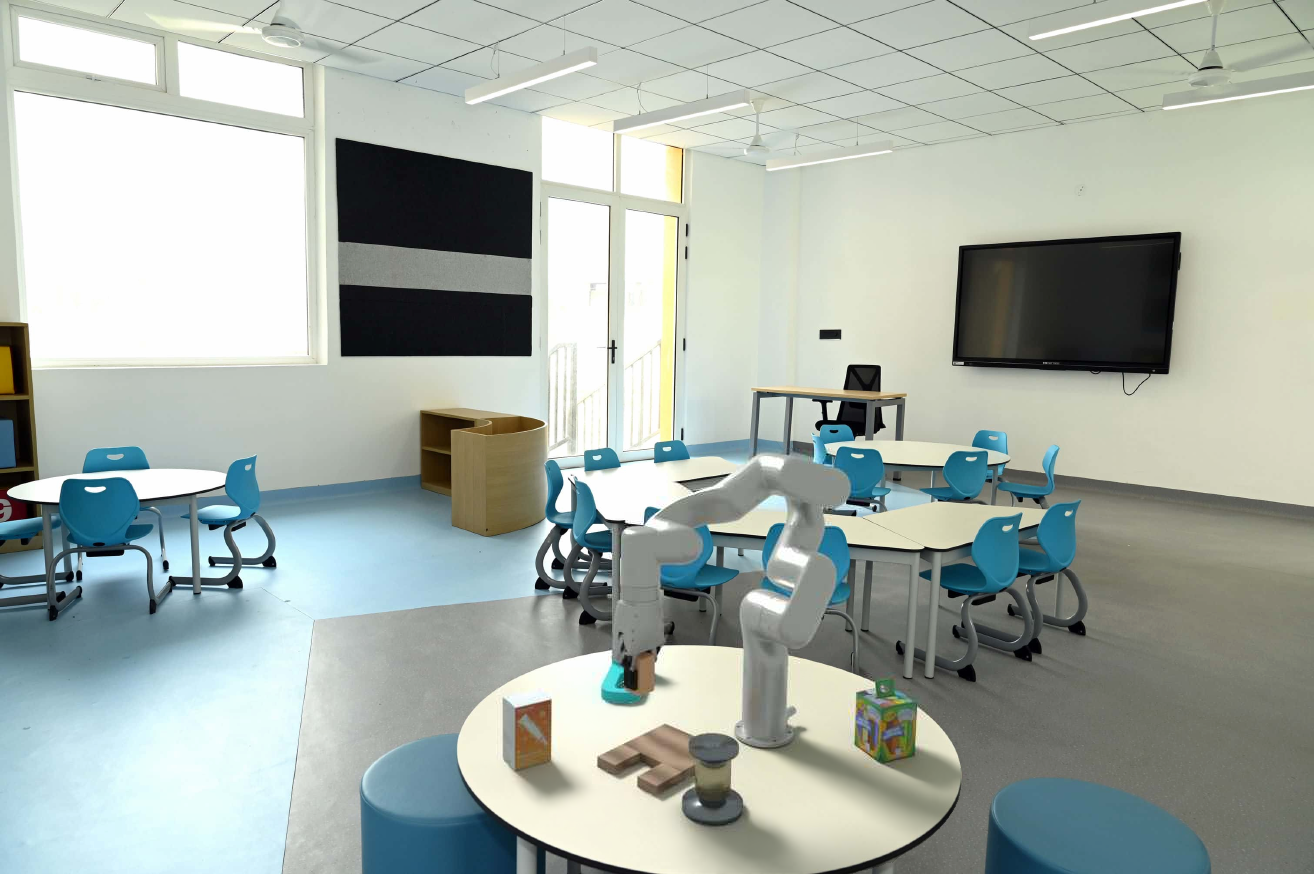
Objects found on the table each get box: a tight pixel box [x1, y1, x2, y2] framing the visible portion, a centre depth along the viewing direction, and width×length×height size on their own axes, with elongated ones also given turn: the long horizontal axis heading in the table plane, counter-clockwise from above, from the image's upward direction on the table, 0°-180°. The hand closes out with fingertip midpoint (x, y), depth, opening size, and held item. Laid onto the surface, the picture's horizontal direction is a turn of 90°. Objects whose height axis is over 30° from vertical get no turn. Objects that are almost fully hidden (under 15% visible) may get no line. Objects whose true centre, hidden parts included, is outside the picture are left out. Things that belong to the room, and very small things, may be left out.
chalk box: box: [853, 677, 918, 763], centre depth 168 cm, size 9×9×15 cm
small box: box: [502, 688, 553, 771], centre depth 163 cm, size 8×6×13 cm
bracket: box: [600, 639, 641, 704], centre depth 200 cm, size 20×9×12 cm, turn 173°
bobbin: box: [681, 732, 744, 827], centre depth 146 cm, size 11×11×12 cm
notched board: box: [596, 723, 696, 797], centre depth 163 cm, size 20×16×2 cm
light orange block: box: [624, 652, 656, 697], centre depth 156 cm, size 4×4×7 cm
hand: (639, 683), depth 156 cm, fingers closed on light orange block, 4 cm apart
